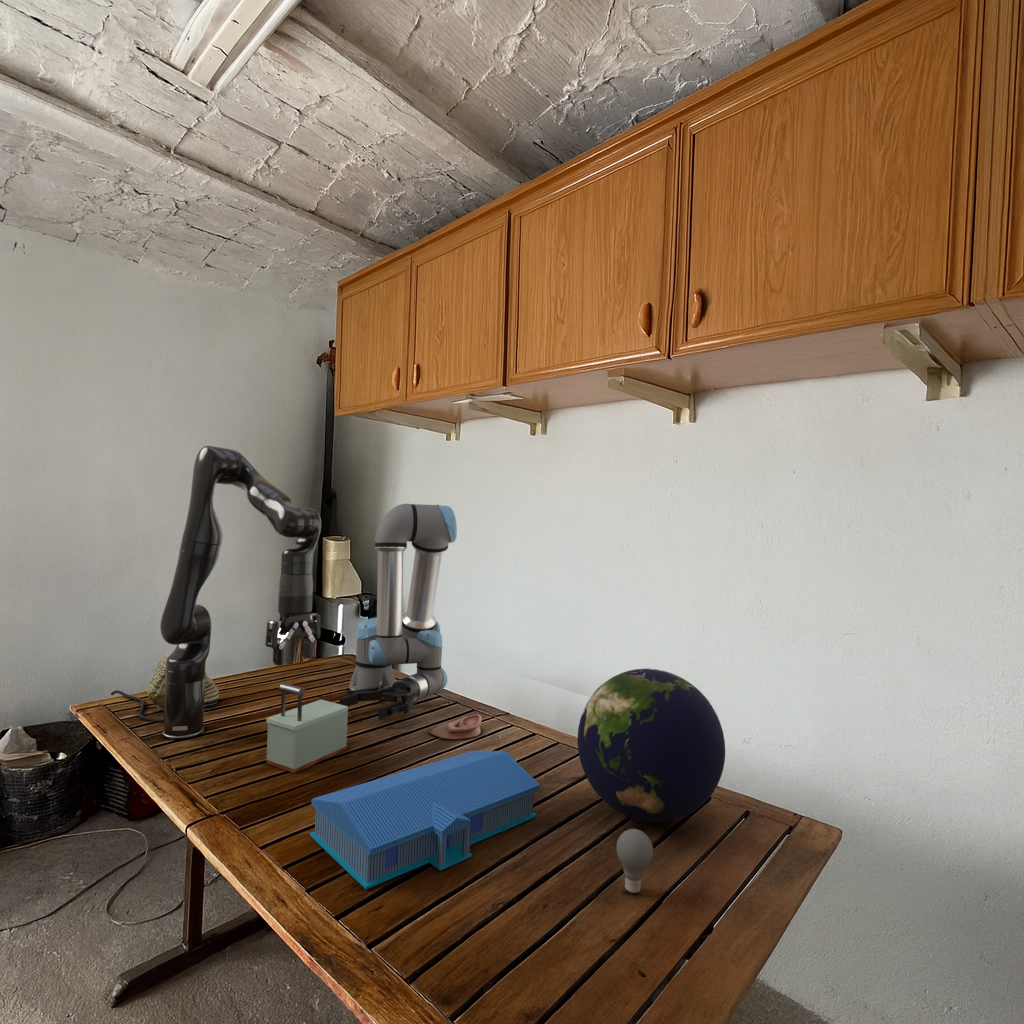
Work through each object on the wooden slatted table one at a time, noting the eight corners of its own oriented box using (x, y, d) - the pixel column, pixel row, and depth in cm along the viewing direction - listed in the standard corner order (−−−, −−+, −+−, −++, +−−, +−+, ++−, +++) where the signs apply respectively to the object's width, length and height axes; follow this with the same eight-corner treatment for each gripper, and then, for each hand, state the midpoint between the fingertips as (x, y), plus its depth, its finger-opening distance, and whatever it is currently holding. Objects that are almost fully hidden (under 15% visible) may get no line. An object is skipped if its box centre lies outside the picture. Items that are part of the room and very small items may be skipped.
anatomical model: (426, 721, 169) (440, 708, 180) (425, 736, 169) (439, 722, 181) (474, 727, 167) (485, 713, 178) (473, 742, 167) (484, 727, 178)
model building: (376, 899, 100) (378, 836, 100) (308, 834, 119) (310, 781, 118) (548, 822, 127) (550, 773, 127) (472, 779, 145) (474, 735, 145)
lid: (294, 730, 144) (295, 692, 144) (266, 722, 148) (267, 685, 148) (348, 710, 159) (349, 675, 159) (320, 703, 163) (322, 669, 163)
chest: (294, 773, 144) (296, 730, 144) (266, 763, 149) (267, 721, 149) (346, 749, 159) (348, 710, 159) (319, 741, 164) (320, 703, 163)
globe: (555, 830, 124) (562, 678, 123) (594, 772, 152) (600, 647, 151) (715, 870, 113) (723, 702, 112) (726, 799, 140) (732, 664, 140)
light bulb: (610, 879, 108) (613, 822, 108) (644, 879, 109) (647, 822, 109) (619, 902, 102) (622, 840, 102) (655, 901, 103) (658, 840, 103)
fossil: (144, 707, 182) (145, 655, 182) (212, 696, 194) (213, 647, 194) (151, 716, 175) (153, 662, 175) (221, 703, 188) (223, 653, 188)
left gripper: (282, 597, 140) (279, 670, 141) (329, 591, 153) (327, 657, 153) (259, 593, 144) (256, 664, 144) (307, 587, 156) (305, 653, 157)
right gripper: (443, 710, 181) (396, 733, 162) (375, 694, 193) (324, 713, 174) (444, 684, 181) (397, 704, 162) (376, 670, 193) (325, 686, 174)
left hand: (293, 661), depth 149 cm, fingers open, 8 cm apart
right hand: (359, 709), depth 168 cm, fingers open, 13 cm apart
